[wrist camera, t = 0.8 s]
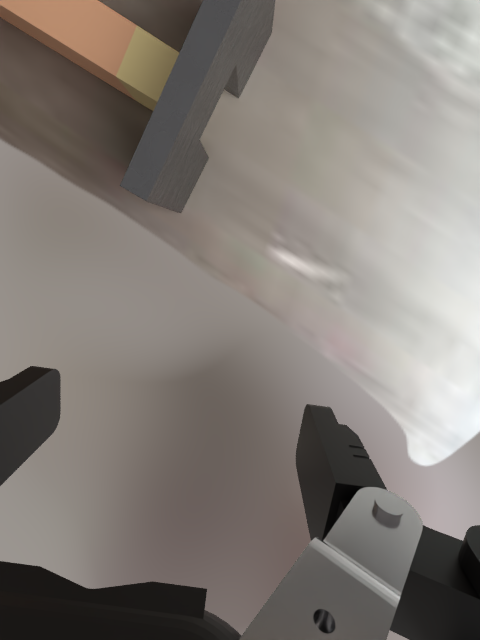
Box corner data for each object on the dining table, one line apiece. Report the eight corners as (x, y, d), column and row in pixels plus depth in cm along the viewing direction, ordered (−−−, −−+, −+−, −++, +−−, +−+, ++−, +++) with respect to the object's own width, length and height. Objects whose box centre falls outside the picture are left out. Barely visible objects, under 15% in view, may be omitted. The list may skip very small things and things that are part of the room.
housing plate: (252, 20, 30) (255, -116, 18) (271, 33, 30) (286, -94, 19) (163, 203, 34) (119, 185, 22) (181, 213, 34) (146, 201, 23)
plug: (-8, -44, 30) (-58, -99, 25) (192, 82, 31) (181, 54, 27) (-22, 3, 30) (-74, -41, 26) (172, 123, 32) (159, 103, 28)
